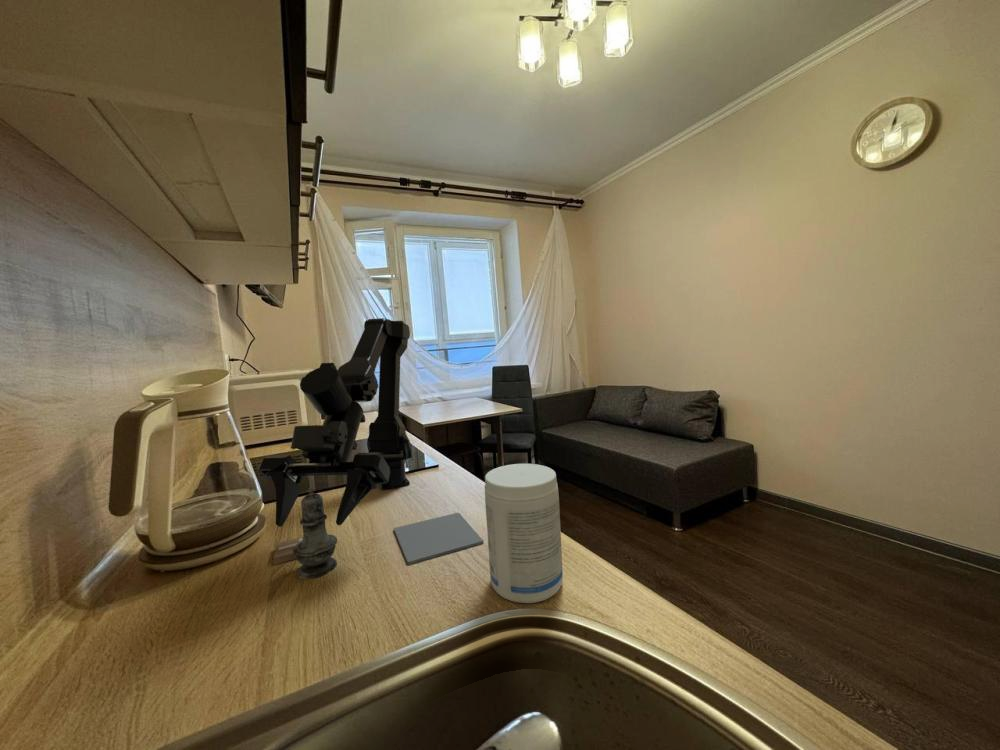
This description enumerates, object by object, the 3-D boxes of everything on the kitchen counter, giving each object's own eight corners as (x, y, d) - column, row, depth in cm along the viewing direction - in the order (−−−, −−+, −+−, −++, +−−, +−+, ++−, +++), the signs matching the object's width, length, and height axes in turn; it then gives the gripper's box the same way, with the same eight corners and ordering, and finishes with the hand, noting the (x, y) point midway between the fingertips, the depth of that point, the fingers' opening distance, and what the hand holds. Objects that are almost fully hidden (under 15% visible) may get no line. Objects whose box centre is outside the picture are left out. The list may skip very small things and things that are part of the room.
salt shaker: (306, 585, 51) (299, 499, 50) (287, 571, 54) (280, 491, 53) (347, 564, 55) (340, 485, 55) (326, 552, 59) (320, 478, 58)
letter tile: (277, 551, 61) (276, 542, 61) (311, 543, 63) (310, 534, 63) (274, 567, 56) (273, 557, 56) (311, 557, 59) (310, 548, 58)
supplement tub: (574, 573, 51) (570, 468, 50) (543, 618, 43) (538, 493, 42) (512, 555, 56) (508, 459, 55) (475, 591, 48) (469, 479, 47)
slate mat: (393, 530, 65) (393, 528, 65) (458, 514, 71) (458, 512, 70) (408, 564, 55) (407, 562, 55) (483, 543, 60) (483, 540, 60)
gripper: (260, 405, 58) (208, 504, 47) (378, 400, 57) (352, 500, 46) (294, 442, 66) (256, 533, 56) (398, 438, 65) (379, 531, 55)
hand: (308, 525), depth 53 cm, fingers open, 8 cm apart
